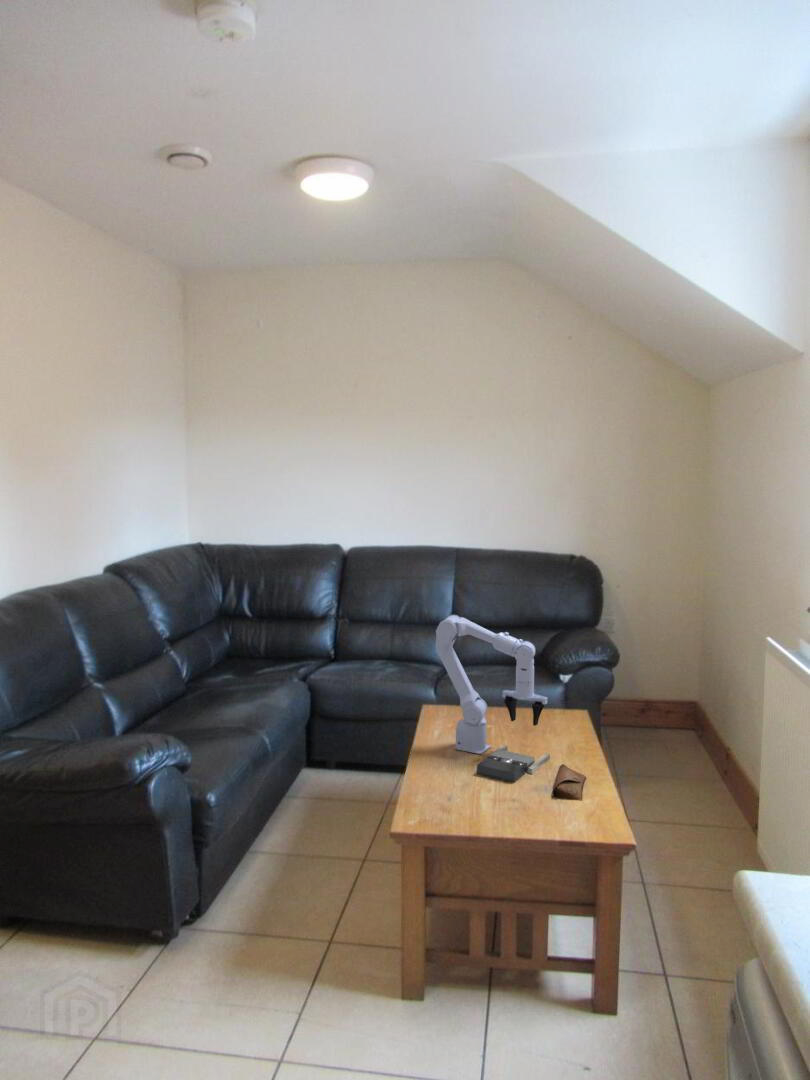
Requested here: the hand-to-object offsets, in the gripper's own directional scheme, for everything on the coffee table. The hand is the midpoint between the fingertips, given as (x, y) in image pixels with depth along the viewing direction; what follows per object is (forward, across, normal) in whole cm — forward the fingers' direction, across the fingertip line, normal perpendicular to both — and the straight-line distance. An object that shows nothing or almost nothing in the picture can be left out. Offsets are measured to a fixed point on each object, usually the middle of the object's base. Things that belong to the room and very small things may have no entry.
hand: (524, 722), depth 241 cm
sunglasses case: (+11, +21, -16) cm, 29 cm away
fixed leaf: (+10, +1, -18) cm, 21 cm away
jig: (+10, +1, -6) cm, 12 cm away
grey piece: (+10, +1, -12) cm, 16 cm away
